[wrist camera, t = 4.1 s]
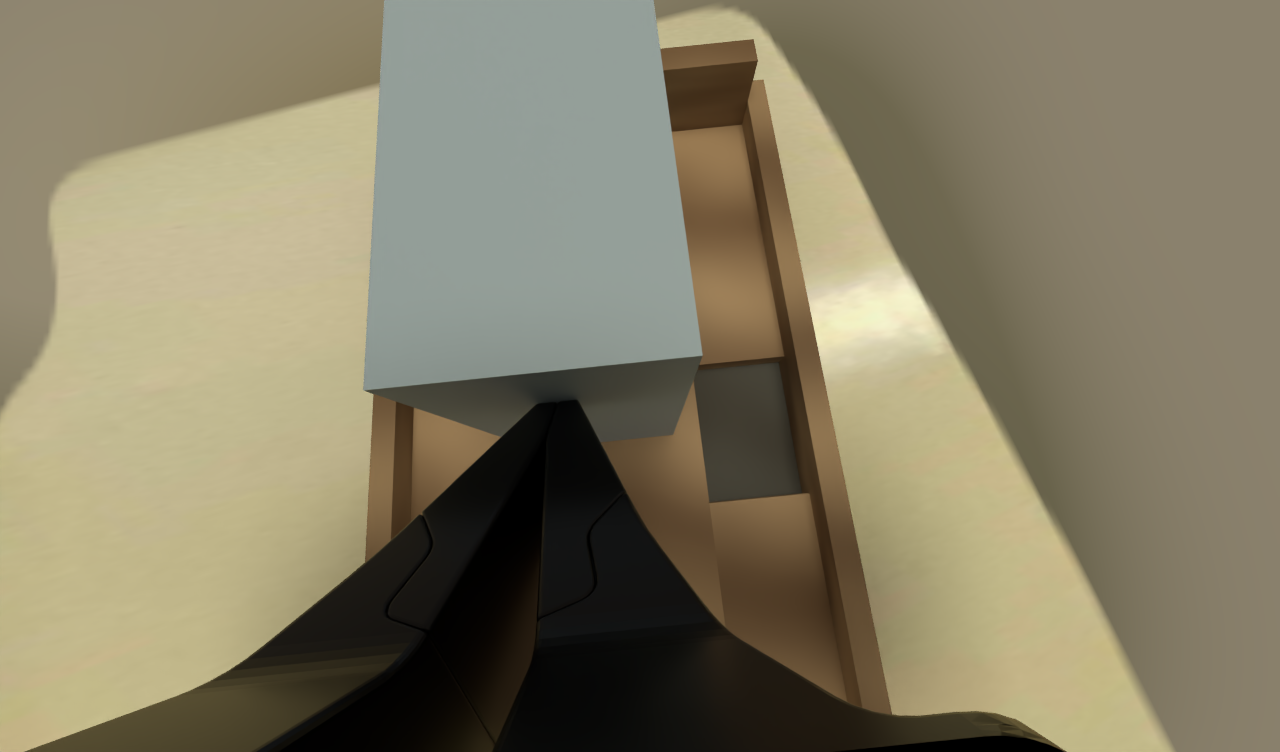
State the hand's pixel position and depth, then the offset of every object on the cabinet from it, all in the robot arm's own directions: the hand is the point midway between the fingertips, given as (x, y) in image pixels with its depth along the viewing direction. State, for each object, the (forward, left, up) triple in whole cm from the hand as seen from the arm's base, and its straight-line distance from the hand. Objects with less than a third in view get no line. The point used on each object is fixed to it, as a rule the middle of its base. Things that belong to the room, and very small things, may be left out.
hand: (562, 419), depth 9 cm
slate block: (+4, 0, -7) cm, 8 cm away
